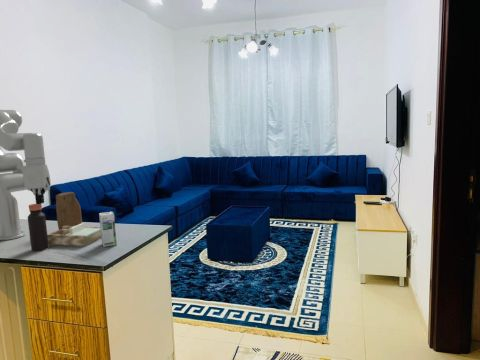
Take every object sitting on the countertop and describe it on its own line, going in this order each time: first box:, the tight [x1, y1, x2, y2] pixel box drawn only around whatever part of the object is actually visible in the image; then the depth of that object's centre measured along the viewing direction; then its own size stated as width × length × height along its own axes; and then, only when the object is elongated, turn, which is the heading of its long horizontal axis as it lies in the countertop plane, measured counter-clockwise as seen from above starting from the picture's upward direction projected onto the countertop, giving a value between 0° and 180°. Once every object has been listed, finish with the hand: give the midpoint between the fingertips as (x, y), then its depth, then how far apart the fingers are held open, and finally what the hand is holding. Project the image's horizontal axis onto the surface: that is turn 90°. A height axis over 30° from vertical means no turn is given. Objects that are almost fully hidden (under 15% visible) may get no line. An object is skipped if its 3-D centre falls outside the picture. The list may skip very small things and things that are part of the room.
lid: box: [66, 222, 101, 237], centre depth 173 cm, size 11×12×3 cm
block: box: [55, 191, 83, 230], centre depth 191 cm, size 11×8×20 cm
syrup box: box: [98, 211, 118, 248], centre depth 166 cm, size 6×6×14 cm
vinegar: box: [27, 203, 50, 252], centre depth 163 cm, size 7×7×20 cm
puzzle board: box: [47, 226, 101, 247], centre depth 175 cm, size 22×15×5 cm
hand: (40, 203), depth 163 cm, fingers closed
